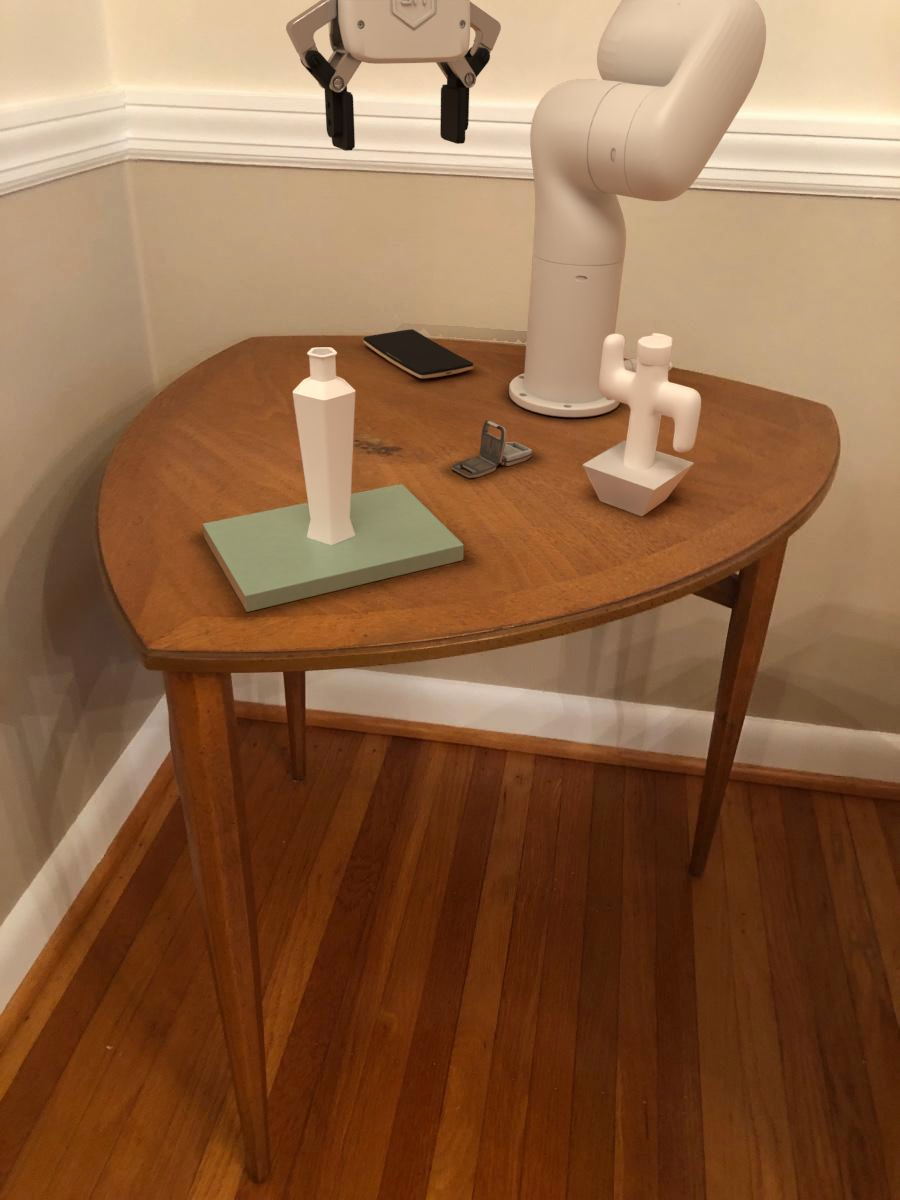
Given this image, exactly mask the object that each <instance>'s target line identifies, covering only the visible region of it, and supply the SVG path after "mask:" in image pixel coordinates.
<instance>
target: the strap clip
mask: <svg viewBox="0 0 900 1200" xmlns="http://www.w3.org/2000/svg"><path fill="white" fill-rule="evenodd" d="M490 426H491V427H493V428H495V429H497V430H499V431H500V437H497V436H495V435H493V434H491V433H489V428H490ZM480 437H481V438H480V446H479V455H480V456H474V457H471V458H467V459H464V460H461V461H458V462H456V463H454V464H452V465H451V470H453V471H455V472H457V473H459V474H461V475H462V476H463V477H466V478H471V479H472V478H480V477H483V476H485V475H488V474H490V473H492V472H495V471H496V470H497V467H498V466H499V465H501V466H504V467H510V466H513V465H517V464H521V463H523V462H526V461H528V460H529V459H530V458H531V457H532V456H533V449H531V448H530V447H528V446H526V445H524V444H521V443H519V442H516V441H507V431H506V428H505V427H504V426H502V425H499V424H498V423H495V422H494V421H491V420H488V419H487V420H485V421H484V423H483V426H482V429H481V436H480ZM461 468H462V469H461ZM463 469H465V470H467V471H469V472H467V471H465V470H463ZM470 472H471V473H470Z"/></svg>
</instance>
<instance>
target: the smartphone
mask: <svg viewBox="0 0 900 1200" xmlns="http://www.w3.org/2000/svg"><path fill="white" fill-rule="evenodd" d="M362 341H363V343H364V345H365V346H367V347H368V348H369V349H371V350H372V351H374V352H375V353H377V354H378V355H380V356H381V357H382V358H384V359H385V360H387V361H388V362H390V363H392V364H393V365H394V366H397V367H399V368H400V369H402V370H403V371H405V372H407V373H409V374H410V375H413V376H415V377H417V378H418V379H431V378H432V379H433V378H439V377H444V376H451V375H455V374H460V373H463V372H467V371H470V370H473V369H474V363H473V362H472V361H471V360H468V359H466V358H464V357H463V356H460V355H458V354H457V353H455V352H453V351H452V350H450V349H448V348H447V347H444V346H442V345H440V344H439V343H437V342H435V341H434V340H432V339H431V338H429V337H427V336H425V335H423V334H422V333H420V332H419V331H417V330H415V329H414V328H413V329H403V330H396V331H389V332H385V333H379V334H373V335H372V334H371V335H367V336H364V337H363V339H362Z"/></svg>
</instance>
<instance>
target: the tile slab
mask: <svg viewBox="0 0 900 1200" xmlns="http://www.w3.org/2000/svg"><path fill="white" fill-rule="evenodd" d="M350 519H351V522H352V526H353V529H354V532H355V536H354V537H351V538H349V539H346V540H344V541H341V542H339V543H336V544H334V545H329V544H325V543H322V542H319V541H316V540H313V539H310V538H307V534H308V529H309V524H310V512H309V505H308V502H304V503H298V504H293V505H289V506H284V507H278V508H273V509H268V510H263V511H258V512H252V513H249V514H243V515H238V516H233V517H227V518H223V519H218V520H213V521H208V522H204V523H202V531H203V537H204V540H205V543H206V544H207V545H208V547H209V550H210V551H211V552H212V554H213V556H214V557H215V560H216V561H217V563H218V565H219V566H220V568H221V570H222V572H223V573H224V575H225V577H226V579H227V580H228V582H229V584H230V586H231V587H232V589H233V591H234V592H235V594H236V596H237V598H238V599H239V602H240V603H241V604H242V606H243V608H244V610H245V612H246V613H250V612H253V611H259V610H262V609H266V608H271V607H275V606H279V605H283V604H287V603H291V602H296V601H299V600H305V599H308V598H312V597H316V596H317V597H318V596H320V595H325V594H328V593H333V592H337V591H341V590H346V589H350V588H353V587H358V586H362V585H366V584H370V583H374V582H379V581H383V580H387V579H391V578H394V577H399V576H403V575H408V574H411V573H416V572H421V571H424V570H429V569H433V568H437V567H441V566H444V565H445V566H446V565H449V564H453V563H458V562H462V561H464V555H465V554H464V553H465V552H464V551H465V544H464V543H463V542H462V541H461V540H460V539H459V538H458V537H457V536H456V535H455V534H454V533H453V532H452V531H451V530H450V529H449V528H448V527H446V525H445V524H444V523H443V522H442V521H441V520H440V519H439V518H437V516H435V515H434V514H433V512H431V510H430V509H429V508H428V507H426V505H424V504H423V503H422V502H421V501H420V500H419V499H418V497H416V496H415V495H414V494H413V493H412V492H411V491H410V490H409V489H408V488H407V487H406V486H405V485H404V484H403V483H399V484H394V485H388V486H383V487H378V488H373V489H369V490H364V491H359V492H353V493H351V506H350Z"/></svg>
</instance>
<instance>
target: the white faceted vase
mask: <svg viewBox="0 0 900 1200" xmlns="http://www.w3.org/2000/svg"><path fill="white" fill-rule="evenodd" d="M306 355H307V356H308V359H309V360H308V362H309V375H310V376H308V377H306V378H304V379H302V380H301V382H300V383H299V384H298V385H297V386H296V387H295V388H294V389H293V390H292V393H291V394H292V398H293V405H294V412H295V420H296V428H297V434H298V441H299V447H300V449H299V450H300V455H301V462H302V463H301V464H302V469H303V476H304V483H305V490H306V497H307V503H308V505H309V512H310V524H309V529H308V534H307V538H310V539H313V540H316V541H319V542H322V543H325V544H329V545H334V544H336V543H339V542H341V541H344V540H346V539H349V538H351V537H354V536H355V532H354V529H353V526H352V522H351V519H350V506H351V494H352V479H353V458H354V457H353V456H354V433H355V411H356V390H355V388H354V387H353V386H352V385H350V383H348V382H347V381H346V380H345V378H343V377H340V376H338V375H337V362H336V356H337V355H338V351H337V350H335V349H334V348H333V347H329V346H325V347H324V346H321V347H319V346H317V347H315V346H314V347H311V348H310V349H309V350H308V351H307V352H306Z"/></svg>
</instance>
